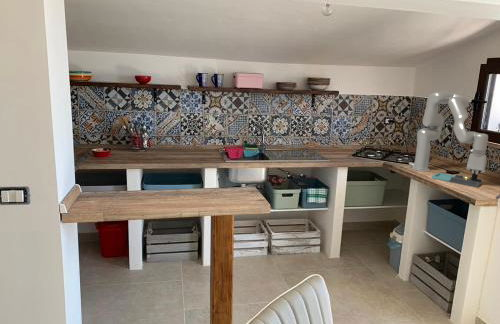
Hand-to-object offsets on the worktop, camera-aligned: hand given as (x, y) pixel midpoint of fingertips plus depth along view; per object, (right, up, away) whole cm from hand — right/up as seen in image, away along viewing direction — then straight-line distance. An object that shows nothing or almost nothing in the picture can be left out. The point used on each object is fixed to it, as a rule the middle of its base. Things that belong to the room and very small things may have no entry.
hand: (474, 179), depth 251 cm
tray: (-14, 0, +13) cm, 19 cm away
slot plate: (-3, -2, +4) cm, 6 cm away
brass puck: (-3, 0, +3) cm, 4 cm away
